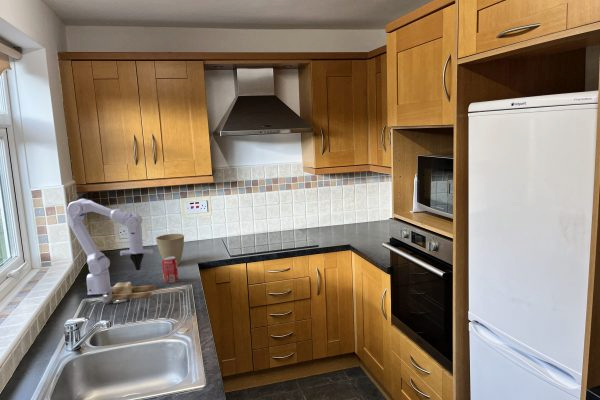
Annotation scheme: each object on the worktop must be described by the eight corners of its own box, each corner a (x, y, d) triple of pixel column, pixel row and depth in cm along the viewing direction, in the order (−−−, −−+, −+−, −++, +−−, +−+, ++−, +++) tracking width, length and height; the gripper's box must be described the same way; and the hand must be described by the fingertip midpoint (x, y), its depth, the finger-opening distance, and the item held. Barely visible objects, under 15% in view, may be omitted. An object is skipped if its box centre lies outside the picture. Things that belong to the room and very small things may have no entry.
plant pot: (188, 260, 258) (186, 232, 255) (183, 268, 243) (181, 239, 240) (161, 261, 257) (159, 234, 254) (155, 269, 242) (152, 240, 239)
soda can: (172, 278, 227) (171, 255, 225) (181, 280, 222) (179, 257, 220) (160, 282, 221) (158, 258, 220) (169, 284, 217) (167, 260, 215)
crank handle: (113, 304, 195) (112, 298, 195) (113, 303, 196) (112, 297, 196) (129, 301, 198) (129, 296, 197) (129, 300, 199) (129, 295, 199)
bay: (109, 299, 200) (108, 293, 200) (116, 291, 210) (115, 285, 210) (151, 297, 202) (150, 290, 201) (156, 289, 212) (155, 283, 211)
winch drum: (102, 304, 195) (101, 293, 194) (105, 300, 199) (104, 290, 198) (111, 303, 196) (110, 293, 195) (114, 300, 200) (113, 289, 199)
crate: (113, 298, 202) (112, 287, 201) (118, 293, 208) (116, 282, 207) (128, 297, 203) (126, 286, 202) (131, 292, 209) (130, 281, 208)
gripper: (116, 243, 204) (119, 273, 206) (149, 242, 205) (152, 271, 207) (121, 240, 211) (124, 268, 213) (153, 238, 212) (155, 266, 214)
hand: (138, 269), depth 210 cm, fingers closed
